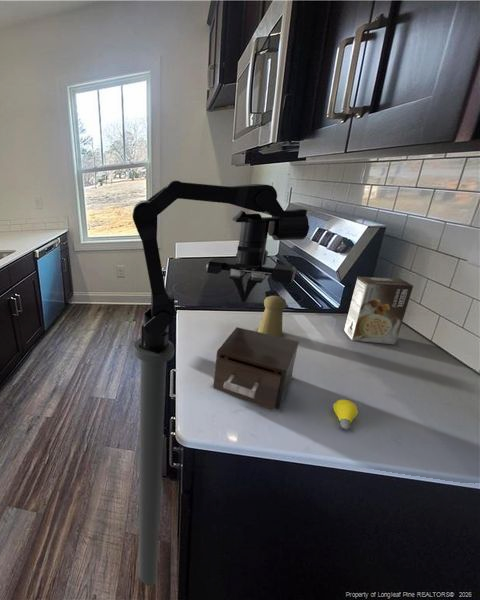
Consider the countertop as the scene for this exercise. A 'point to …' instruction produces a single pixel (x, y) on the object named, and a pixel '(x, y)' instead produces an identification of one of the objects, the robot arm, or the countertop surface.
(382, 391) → the countertop surface
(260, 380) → the drawer
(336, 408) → the light bulb
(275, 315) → the cork
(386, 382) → the countertop surface
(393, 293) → the coffee box
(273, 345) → the cabinet
